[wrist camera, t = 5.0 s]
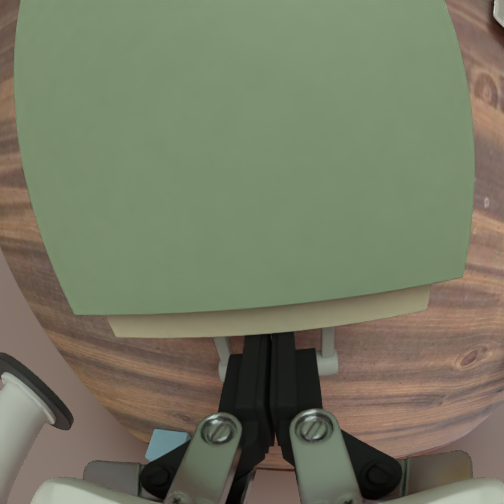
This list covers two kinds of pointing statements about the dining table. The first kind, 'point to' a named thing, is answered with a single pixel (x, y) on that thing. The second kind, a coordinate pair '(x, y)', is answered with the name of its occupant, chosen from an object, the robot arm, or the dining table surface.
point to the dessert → (499, 11)
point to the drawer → (275, 322)
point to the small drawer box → (243, 149)
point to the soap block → (165, 442)
